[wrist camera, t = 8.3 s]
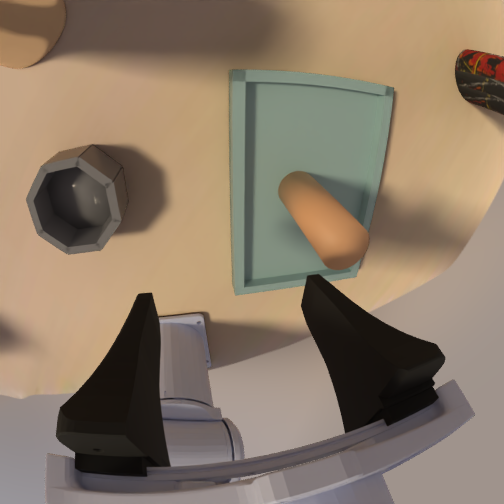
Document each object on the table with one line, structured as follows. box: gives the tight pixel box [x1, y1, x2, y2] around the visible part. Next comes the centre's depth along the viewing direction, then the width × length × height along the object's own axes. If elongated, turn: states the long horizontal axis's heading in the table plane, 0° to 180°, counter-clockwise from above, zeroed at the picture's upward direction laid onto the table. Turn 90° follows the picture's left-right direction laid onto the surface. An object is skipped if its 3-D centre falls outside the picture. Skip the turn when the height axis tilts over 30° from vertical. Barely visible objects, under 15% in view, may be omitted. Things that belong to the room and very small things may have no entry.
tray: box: [229, 70, 394, 295], centre depth 22 cm, size 18×12×2 cm, turn 179°
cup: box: [26, 145, 128, 255], centre depth 17 cm, size 7×7×3 cm
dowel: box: [278, 171, 369, 270], centre depth 18 cm, size 3×3×8 cm
